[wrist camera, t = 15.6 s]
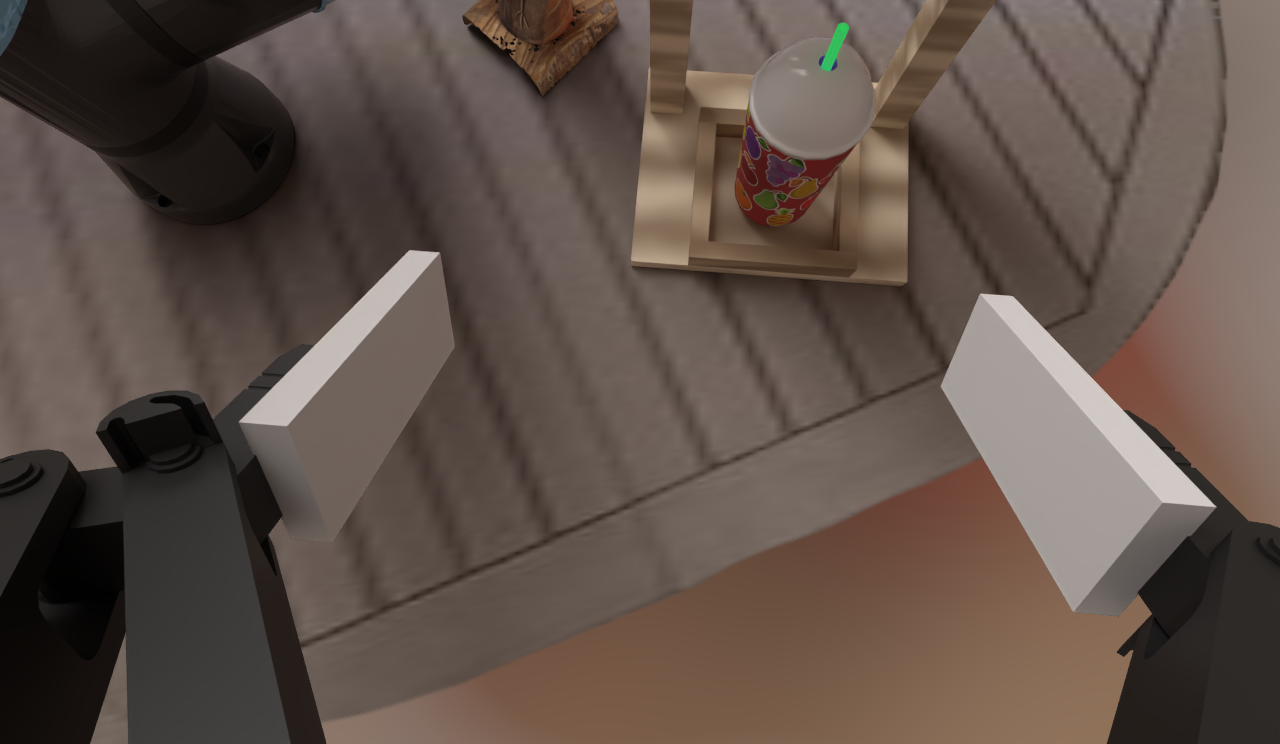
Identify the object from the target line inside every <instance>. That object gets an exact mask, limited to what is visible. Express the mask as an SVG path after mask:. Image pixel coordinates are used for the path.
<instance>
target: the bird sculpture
mask: <svg viewBox="0 0 1280 744" xmlns="http://www.w3.org/2000/svg"><path fill="white" fill-rule="evenodd" d="M497 1H498V3H497ZM581 7H582V9H581ZM573 9H574V11H573ZM577 9H578V10H579V11H580V12H582V11H584V10H585V11H584V13H580V15H579V13H576V10H577ZM498 11H499V14H498V13H497V12H498ZM462 18H463V21H464V24H466V25H468V24H470V23H473V24H475V26H476V27H479V28H480V30H481V31H482V32H483V33H484V34H486V35H487V36H488V37H489V38H490V39H491V40H492V41H493V42H494V43H496V44H498V46H499V47H500V48H501V49H503V50H504V49H505V48H508V49H511V50H512V51H513V50H514V49H515V52H512V53H513V54H514V55H513V56H512V55H511V54H510V55H511V56H512V57H511V58H513V59H514V60H515V61H516V62H517V63H518V65H519V66H520V67H522V68H524V69H525V71H526V73H527V74H528V75H529V76H530V77H531V79H532V80H533V81H534V82H535V84H536V85H537V86H538V88H539V90H540V93H541V95H542V96H543V95H544V94H545V93H547V90H550V86H551V87H554V85H555V84H554V83H556V82H558V79H562V77H563V76H564V75H565V74H566V73H567V72H566V71H569V70H571V69H572V66H575V65H576V64H577V63H579V61H580V60H581V59H582V57H583V56H585V55H587V54H588V52H589V50H590V49H591V47H592V48H593V47H595V46H596V44H597V42H598V41H600V39H602V38H603V36H605V35H607V34H608V33H609V32H610V30H611V29H612V28H613V27H614V26H615V25H616V24H617V23H618V22H619V18H618V10H617V8H616V6H615V4H614V2H613V0H479V1H478V2H477V3H476V4H475V5H474V6H473V7H471V8H470V10H468V11H467V12H466V13H465V14H464V15H463V17H462ZM571 21H573V22H574V24H575V26H573V25H572V23H571ZM562 33H563V35H561V34H562ZM501 36H502V38H503V42H502V43H503V44H502V45H501V44H500V43H501V39H500V37H501ZM504 36H506V37H504ZM515 36H517V38H515ZM493 37H495V39H493ZM496 38H498V39H499V40H496ZM514 38H515V39H516V40H515V41H513V40H514ZM561 38H562V40H561ZM512 39H513V40H512ZM555 39H560V40H558V41H556V40H555ZM505 42H508V46H505ZM511 42H514V43H515V44H514V45H511V44H509V43H511ZM517 42H518V44H519V42H521V45H518V44H517ZM553 42H555V44H553ZM533 44H538V47H535V45H533ZM500 45H501V46H500ZM516 46H517V47H516ZM590 46H591V47H590ZM529 49H531V50H530V51H529ZM531 61H532V62H533V63H531ZM573 62H574V63H573ZM527 64H528V65H527Z"/></svg>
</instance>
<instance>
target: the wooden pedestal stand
mask: <svg viewBox="0 0 1280 744" xmlns="http://www.w3.org/2000/svg"><path fill="white" fill-rule="evenodd" d="M995 1H996V0H926V1H925V3H924V5H923V7H922V8H921V10H920V12H919V14H918V15H917V17H916V19H915V20H914V22H913V24H912V26H911V27H910V29H909V31H908V33H907V34H906V36H905V38H904V39H903V41H902V43H901V45H900V46H899V48H898V50H897V52H896V53H895V55H894V57H893V58H892V60H891V62H890V64H889V65H888V67H887V69H886V71H885V72H884V74H883V76H882V78H881V79H880V81H879V83H872V85H873V87H874V89H875V99H876V111H875V115H874V118H873V122H872V125H871V127H870V128H869V130H868V131H867V133H866V134H865V135H864V137H863V138H862V140H861V141H860V142H859V143H858V144H857V145H856V146H855V148H854V149H853V150H852V151H851V153H850V154H849V155H848V157H847V158H846V159H845V161H844V162H843V163H842V165H841V166H840V167H839V169H838V170H837V171H836V173H835V174H834V175H833V177H832V178H831V179H830V181H829V182H828V183H827V185H826V186H825V187H824V189H823V190H822V191H821V193H820V194H819V195H818V196H817V198H816V199H815V200H814V202H813V203H812V204H811V206H810V207H809V208H808V210H807V211H806V212H805V214H804V215H803V216H801V217H800V218H799V219H798V220H796V221H795V222H793V223H790V224H787V225H784V226H765V225H761V224H758V223H756V222H754V221H753V220H751V219H750V218H749V217H748V216H747V215H746V214H745V213H744V212H743V211H742V210H741V209H740V207H739V205H738V202H737V200H736V198H735V180H736V174H737V168H738V162H739V156H740V150H741V144H742V137H743V131H744V125H745V119H746V113H747V107H748V102H749V89H750V86H751V83H752V80H753V77H754V75H747V74H732V73H716V72H701V71H687V62H688V50H689V39H690V27H691V16H692V4H693V0H650V68H649V74H648V84H647V95H646V106H645V116H644V127H643V138H642V148H641V159H640V170H639V180H638V191H637V202H636V212H635V223H634V233H633V244H632V255H631V266H640V267H653V268H666V269H680V270H693V271H706V272H719V273H732V274H745V275H759V276H772V277H785V278H798V279H811V280H824V281H838V282H851V283H864V284H877V285H890V286H903V285H904V284H905V283H907V267H908V135H909V120H910V119H911V117H912V116H913V114H914V113H915V112H916V110H917V109H918V108H919V106H920V105H921V103H922V102H923V101H924V99H925V98H926V97H927V95H928V94H929V92H930V91H931V90H932V88H933V87H934V86H935V84H936V83H937V81H938V80H939V79H940V77H941V76H942V75H943V73H944V72H945V70H946V69H947V68H948V66H949V65H950V63H951V62H952V61H953V59H954V58H955V57H956V55H957V54H958V52H959V51H960V50H961V48H962V47H963V46H964V44H965V43H966V41H967V40H968V39H969V37H970V36H971V35H972V33H973V32H974V30H975V29H976V28H977V26H978V25H979V24H980V22H981V21H982V19H983V18H984V17H985V15H986V14H987V13H988V11H989V10H990V8H991V7H992V6H993V4H994V3H995Z"/></svg>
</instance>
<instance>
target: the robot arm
mask: <svg viewBox="0 0 1280 744" xmlns="http://www.w3.org/2000/svg"><path fill="white" fill-rule="evenodd" d="M333 1H335V0H0V97H2V98H4V99H5V100H7V101H9V102H11V103H12V104H14V105H16V106H18V107H19V108H21V109H23V110H24V111H26V112H28V113H30V114H31V115H33V116H35V117H37V118H38V119H40V120H42V121H44V122H45V123H47V124H49V125H51V126H52V127H54V128H56V129H58V130H59V131H61V132H63V133H64V134H66V135H68V136H70V137H71V138H73V139H75V140H77V141H79V142H80V143H82V144H84V145H86V146H87V147H89V148H90V149H92V150H94V151H95V152H96V153H97V154H98V155H99V156H100V157H101V159H102V160H103V161H104V162H105V163H106V164H107V165H108V166H109V167H110V169H111V170H112V171H113V172H114V173H115V174H116V175H117V176H118V177H119V178H120V180H121V181H122V182H123V183H124V184H125V185H126V186H127V187H128V188H129V190H130V191H131V192H132V193H133V194H134V195H135V196H136V197H138V198H139V199H140V200H142V201H143V202H144V203H146V204H147V205H149V206H151V207H152V208H154V209H156V210H158V211H160V212H162V213H164V214H165V215H167V216H169V217H171V218H173V219H176V220H179V221H182V222H186V223H191V224H217V223H222V222H226V221H230V220H233V219H236V218H238V217H241V216H243V215H245V214H247V213H248V212H250V211H252V210H253V209H255V208H257V207H258V206H259V205H261V204H262V203H263V202H264V201H265V200H267V199H268V198H269V197H270V196H271V195H272V194H273V192H274V191H275V190H276V189H277V188H278V186H279V185H280V183H281V182H282V180H283V179H284V177H285V175H286V173H287V171H288V169H289V166H290V163H291V160H292V156H293V151H294V130H293V125H292V122H291V119H290V116H289V114H288V112H287V110H286V109H285V107H284V105H283V104H282V103H281V102H280V100H279V99H278V98H277V97H276V96H275V95H274V94H273V93H272V92H271V91H270V90H269V89H268V88H267V87H266V86H265V85H264V84H263V83H262V82H261V81H259V80H258V79H257V78H255V77H254V76H253V75H251V74H250V73H248V72H246V71H245V70H243V69H240V68H238V67H236V66H234V65H232V64H231V63H229V62H227V61H225V60H223V59H221V58H219V57H217V56H216V55H218V54H220V53H222V52H224V51H227V50H229V49H231V48H233V47H235V46H238V45H240V44H242V43H244V42H246V41H248V40H251V39H253V38H255V37H257V36H259V35H262V34H264V33H266V32H268V31H270V30H273V29H275V28H277V27H279V26H281V25H284V24H286V23H288V22H290V21H292V20H295V19H297V18H299V17H301V16H303V15H306V14H308V13H310V12H314V13H317V12H321V11H323V10H324V9H325V7H326V5H327V4H329V3H331V2H333ZM454 347H455V344H454V337H453V331H452V325H451V318H450V312H449V306H448V300H447V293H446V287H445V281H444V274H443V268H442V262H441V256H440V253H439V252H426V251H413V250H409V251H408V252H407V253H406V254H405V255H404V256H403V257H402V258H401V259H400V260H399V261H398V262H397V263H396V264H395V265H394V266H393V267H392V268H391V269H390V270H389V271H388V272H387V273H386V274H385V275H384V276H383V277H382V278H381V279H380V280H379V281H378V282H377V283H376V284H375V285H374V286H373V287H372V288H371V289H370V290H369V291H368V292H367V294H366V295H365V296H364V297H363V298H362V299H361V300H360V301H359V302H358V303H357V304H356V305H355V306H354V307H353V308H352V309H351V310H350V311H349V312H348V313H347V314H346V315H345V316H344V317H343V318H342V319H341V320H340V321H339V322H338V323H337V324H336V325H335V326H334V327H333V328H332V329H331V330H330V331H329V332H328V333H327V334H326V335H325V336H324V337H323V338H322V339H321V340H320V341H319V342H318V343H317V344H316V345H301V346H299V347H297V348H295V349H293V350H291V351H289V352H288V353H286V354H284V355H282V356H280V357H278V358H277V359H276V360H275V361H274V362H273V363H272V364H271V365H270V366H269V367H268V368H267V369H266V370H265V371H263V372H262V376H258V377H257V378H256V379H255V380H254V381H253V382H252V383H251V384H250V385H249V388H248V389H244V390H243V391H242V392H241V393H240V394H239V395H238V396H237V397H236V398H235V399H234V400H233V401H232V402H231V403H230V404H229V405H228V406H226V407H225V408H224V409H223V410H222V411H221V412H220V413H219V414H218V415H217V416H216V417H215V418H214V419H212V417H211V415H210V413H209V411H208V409H207V407H206V405H205V403H204V401H203V400H202V399H201V397H200V396H199V395H198V394H195V393H192V392H189V391H165V392H159V393H154V394H149V395H146V396H143V397H140V398H138V399H135V400H132V401H129V402H128V403H126V404H124V405H122V406H120V407H118V408H117V409H115V410H113V411H112V412H111V413H110V414H108V415H107V416H106V417H105V418H104V419H103V420H102V421H101V422H100V424H99V426H98V428H97V431H96V434H97V435H98V437H99V438H100V440H101V442H102V443H103V445H104V446H105V448H106V449H107V451H108V452H109V454H110V456H111V457H112V459H113V460H114V462H115V463H116V465H117V466H118V467H111V468H103V469H96V470H88V471H81V472H78V471H77V469H76V468H75V467H74V465H73V464H72V462H71V461H70V459H69V458H68V457H67V456H66V455H65V454H64V453H63V452H59V451H54V450H49V449H48V450H36V451H28V452H24V453H20V454H17V455H11V456H8V457H5V458H2V459H0V744H90V742H91V739H92V736H93V733H94V730H95V727H96V723H97V720H98V717H99V714H100V711H101V708H102V705H103V701H104V698H105V695H106V692H107V689H108V686H109V683H110V680H111V676H112V673H113V670H114V667H115V664H116V661H117V658H118V654H119V651H120V648H121V645H122V642H123V639H124V636H125V632H126V663H127V706H128V744H326V740H325V736H324V732H323V729H322V725H321V721H320V717H319V714H318V710H317V706H316V702H315V699H314V695H313V691H312V688H311V684H310V680H309V676H308V673H307V669H306V665H305V661H304V658H303V654H302V650H301V646H300V643H299V639H298V635H297V631H296V628H295V624H294V620H293V616H292V613H291V609H290V605H289V601H288V598H287V594H286V590H285V586H284V583H283V579H282V575H281V571H280V568H279V564H278V560H277V556H276V553H275V549H274V546H273V544H272V542H271V539H270V537H269V535H268V534H269V533H270V532H271V530H272V529H273V528H274V526H275V525H276V524H277V522H278V521H279V520H280V518H281V517H282V520H283V522H284V524H285V526H286V528H287V531H288V533H289V535H290V537H291V539H297V540H308V541H319V542H329V543H333V541H334V540H335V538H336V536H337V535H338V533H339V532H340V530H341V528H342V527H343V525H344V524H345V522H346V520H347V519H348V517H349V516H350V514H351V512H352V511H353V509H354V508H355V506H356V504H357V503H358V501H359V500H360V498H361V496H362V495H363V493H364V492H365V490H366V488H367V487H368V485H369V484H370V482H371V480H372V479H373V477H374V476H375V474H376V472H377V471H378V469H379V468H380V466H381V464H382V463H383V461H384V460H385V458H386V456H387V455H388V453H389V452H390V450H391V448H392V447H393V445H394V444H395V442H396V440H397V439H398V437H399V436H400V434H401V432H402V431H403V429H404V428H405V426H406V424H407V423H408V421H409V420H410V418H411V416H412V415H413V413H414V412H415V410H416V408H417V407H418V405H419V404H420V402H421V400H422V399H423V397H424V396H425V394H426V392H427V391H428V389H429V388H430V386H431V384H432V383H433V381H434V380H435V378H436V376H437V375H438V373H439V372H440V370H441V368H442V367H443V365H444V364H445V362H446V360H447V359H448V357H449V355H450V354H451V352H452V351H453V349H454ZM941 388H942V390H943V391H944V393H945V395H946V396H947V398H948V400H949V401H950V403H951V405H952V407H953V408H954V410H955V412H956V413H957V415H958V417H959V418H960V420H961V422H962V424H963V425H964V427H965V429H966V430H967V432H968V434H969V435H970V437H971V439H972V441H973V442H974V444H975V446H976V447H977V449H978V451H979V452H980V454H981V456H982V458H983V459H984V461H985V463H986V464H987V466H988V468H989V469H990V471H991V473H992V474H993V476H994V478H995V480H996V481H997V483H998V485H999V486H1000V488H1001V490H1002V491H1003V493H1004V495H1005V497H1006V498H1007V500H1008V502H1009V504H1010V505H1011V507H1012V509H1013V510H1014V512H1015V514H1016V515H1017V517H1018V519H1019V521H1020V522H1021V524H1022V526H1023V527H1024V529H1025V530H1026V532H1027V534H1028V536H1029V538H1030V539H1031V541H1032V543H1033V544H1034V546H1035V548H1036V549H1037V551H1038V553H1039V555H1040V556H1041V558H1042V559H1043V561H1044V563H1045V565H1046V566H1047V568H1048V570H1049V572H1050V573H1051V575H1052V576H1053V578H1054V580H1055V582H1056V583H1057V585H1058V587H1059V588H1060V590H1061V592H1062V594H1063V595H1064V597H1065V599H1066V600H1067V602H1068V603H1069V606H1070V607H1071V609H1072V611H1073V612H1077V613H1088V614H1098V615H1109V616H1119V615H1120V614H1121V613H1122V612H1123V611H1124V610H1125V609H1126V608H1127V607H1128V605H1129V604H1130V603H1131V602H1132V601H1133V599H1135V598H1136V596H1137V595H1138V594H1139V595H1140V597H1141V598H1142V600H1143V601H1144V603H1145V604H1146V605H1147V607H1148V608H1149V610H1150V611H1151V613H1152V615H1151V616H1150V617H1149V618H1148V619H1147V620H1146V621H1145V622H1144V623H1143V624H1142V625H1141V626H1140V627H1139V628H1138V629H1137V630H1136V632H1135V633H1134V634H1133V635H1132V636H1131V637H1130V638H1129V639H1128V640H1127V641H1126V642H1125V643H1124V644H1123V645H1122V646H1121V648H1120V649H1119V650H1118V651H1117V653H1119V654H1120V655H1122V656H1123V657H1124V656H1125V655H1126V654H1127V653H1128V652H1129V651H1130V650H1134V651H1133V654H1132V658H1131V661H1130V665H1129V668H1128V672H1127V675H1126V679H1125V682H1124V686H1123V689H1122V693H1121V696H1120V700H1119V703H1118V707H1117V711H1116V714H1115V717H1114V721H1113V724H1112V728H1111V731H1110V735H1109V738H1108V742H1107V744H1280V528H1278V527H1275V526H1272V525H1270V524H1264V523H1257V522H1251V521H1250V522H1249V521H1248V520H1247V519H1246V518H1245V517H1244V516H1243V515H1242V514H1241V513H1240V512H1239V511H1238V510H1237V509H1236V508H1235V507H1234V506H1233V505H1232V504H1231V503H1230V502H1229V501H1228V500H1227V499H1226V498H1225V497H1224V496H1223V495H1222V494H1221V493H1220V492H1219V491H1218V490H1217V489H1216V488H1215V487H1214V486H1213V485H1212V484H1211V483H1210V482H1209V481H1208V480H1207V479H1206V478H1205V477H1204V476H1203V475H1202V474H1201V473H1200V472H1199V471H1198V470H1197V469H1196V468H1191V463H1190V462H1189V461H1188V460H1187V459H1186V458H1185V457H1184V456H1183V455H1182V454H1181V453H1180V452H1176V451H1175V447H1174V446H1173V445H1172V444H1171V443H1170V442H1169V441H1168V440H1167V439H1166V438H1165V437H1164V436H1163V435H1162V434H1161V433H1160V432H1159V431H1158V430H1157V429H1156V428H1154V427H1153V426H1151V425H1150V424H1148V423H1147V422H1145V421H1144V420H1142V419H1140V418H1139V417H1138V416H1136V415H1134V414H1133V413H1131V412H1130V411H1127V410H1122V409H1121V408H1120V407H1119V406H1118V405H1117V404H1116V403H1115V402H1114V401H1113V400H1112V398H1111V397H1110V396H1109V395H1108V394H1107V393H1106V392H1105V391H1104V390H1103V389H1102V388H1101V387H1100V386H1099V385H1098V384H1097V383H1096V382H1095V381H1094V380H1093V379H1092V378H1091V377H1090V376H1089V375H1088V374H1087V373H1086V372H1085V370H1084V369H1083V368H1082V367H1081V366H1080V365H1079V364H1078V363H1077V362H1076V361H1075V360H1074V359H1073V358H1072V357H1071V356H1070V355H1069V354H1068V353H1067V352H1066V351H1065V350H1064V349H1063V348H1062V347H1061V346H1060V345H1059V344H1058V343H1057V341H1056V340H1055V339H1054V338H1053V337H1052V336H1051V335H1050V334H1049V333H1048V332H1047V331H1046V330H1045V329H1044V328H1043V327H1042V326H1041V325H1040V324H1039V323H1038V322H1037V321H1036V320H1035V319H1034V318H1033V317H1032V316H1031V315H1030V314H1029V313H1028V311H1027V310H1026V309H1025V308H1024V307H1023V306H1022V305H1021V304H1020V303H1019V302H1018V301H1017V300H1016V299H1015V298H1014V297H1013V296H1004V295H991V294H980V295H979V297H978V300H977V302H976V305H975V307H974V309H973V312H972V314H971V316H970V319H969V321H968V323H967V326H966V328H965V330H964V333H963V335H962V337H961V340H960V342H959V344H958V347H957V349H956V351H955V354H954V356H953V358H952V361H951V363H950V365H949V368H948V370H947V372H946V375H945V377H944V379H943V382H942V384H941Z"/></svg>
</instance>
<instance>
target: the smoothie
mask: <svg viewBox="0 0 1280 744" xmlns="http://www.w3.org/2000/svg"><path fill="white" fill-rule="evenodd" d="M848 30H849V26H848V25H847V24H846V23H840V24H839V25H838V27H837V29H836V31H835V34H834V36H833V39H832V38H828V37H810V38H807V39H804V40H801V41H797V42H795V43H792V44H791V45H789V46H788V47H786V48H785V49H782V50H780V51H779V52H777V53H776V54H774V55H773V56H771V57H770V58H768V59H767V60H765V61H764V63H763V64H762V65H761V67H760V68H759V69H758V71H757V72H756V73H755V75H754V77H753V80H752V83H751V86H750V89H749V102H748V107H747V113H746V119H745V125H744V131H743V137H742V144H741V150H740V156H739V162H738V168H737V174H736V180H735V198H736V200H737V202H738V205H739V207H740V209H741V210H742V211H743V212H744V213H745V214H746V215H747V216H748V217H749V218H750V219H751V220H753V221H754V222H756V223H758V224H761V225H765V226H784V225H787V224H790V223H793V222H795V221H796V220H798V219H799V218H800V217H801V216H803V215H804V214H805V212H806V211H807V210H808V208H809V207H810V206H811V204H812V203H813V202H814V200H815V199H816V198H817V196H818V195H819V194H820V193H821V191H822V190H823V189H824V187H825V186H826V185H827V183H828V182H829V181H830V179H831V178H832V177H833V175H834V174H835V173H836V171H837V170H838V169H839V167H840V166H841V165H842V163H843V162H844V161H845V159H846V158H847V157H848V155H849V154H850V153H851V151H852V150H853V149H854V148H855V146H856V145H857V144H858V143H859V142H860V141H861V140H862V138H863V137H864V135H865V134H866V133H867V131H868V130H869V128H870V127H871V125H872V122H873V118H874V115H875V111H876V99H875V89H874V87H873V85H872V83H871V76H870V73H869V71H868V69H867V67H866V65H865V62H864V60H863V59H862V57H861V56H860V55H859V54H858V53H857V52H856V51H855V50H854V49H853V48H852V47H850V46H849V45H847V44H845V43H843V41H844V39H845V37H846V34H847V32H848Z"/></svg>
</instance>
